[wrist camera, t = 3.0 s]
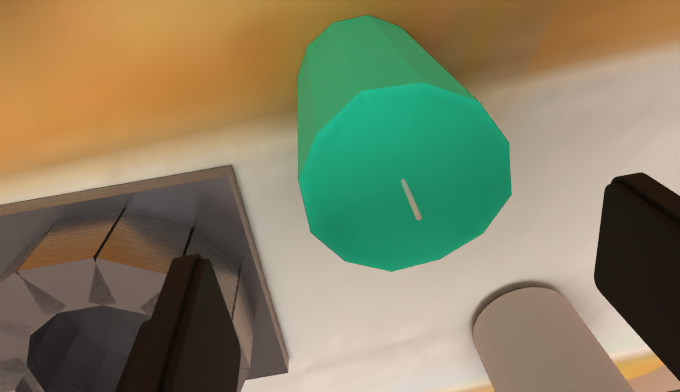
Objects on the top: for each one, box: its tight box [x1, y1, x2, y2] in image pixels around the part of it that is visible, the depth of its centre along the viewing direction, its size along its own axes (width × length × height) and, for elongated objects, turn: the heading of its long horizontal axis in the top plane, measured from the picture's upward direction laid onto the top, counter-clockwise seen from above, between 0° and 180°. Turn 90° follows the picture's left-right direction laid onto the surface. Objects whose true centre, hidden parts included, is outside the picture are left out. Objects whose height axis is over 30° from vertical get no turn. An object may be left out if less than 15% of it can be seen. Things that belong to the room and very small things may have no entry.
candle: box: [297, 15, 511, 272], centre depth 17 cm, size 6×6×12 cm
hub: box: [0, 165, 288, 392], centre depth 25 cm, size 14×14×6 cm
